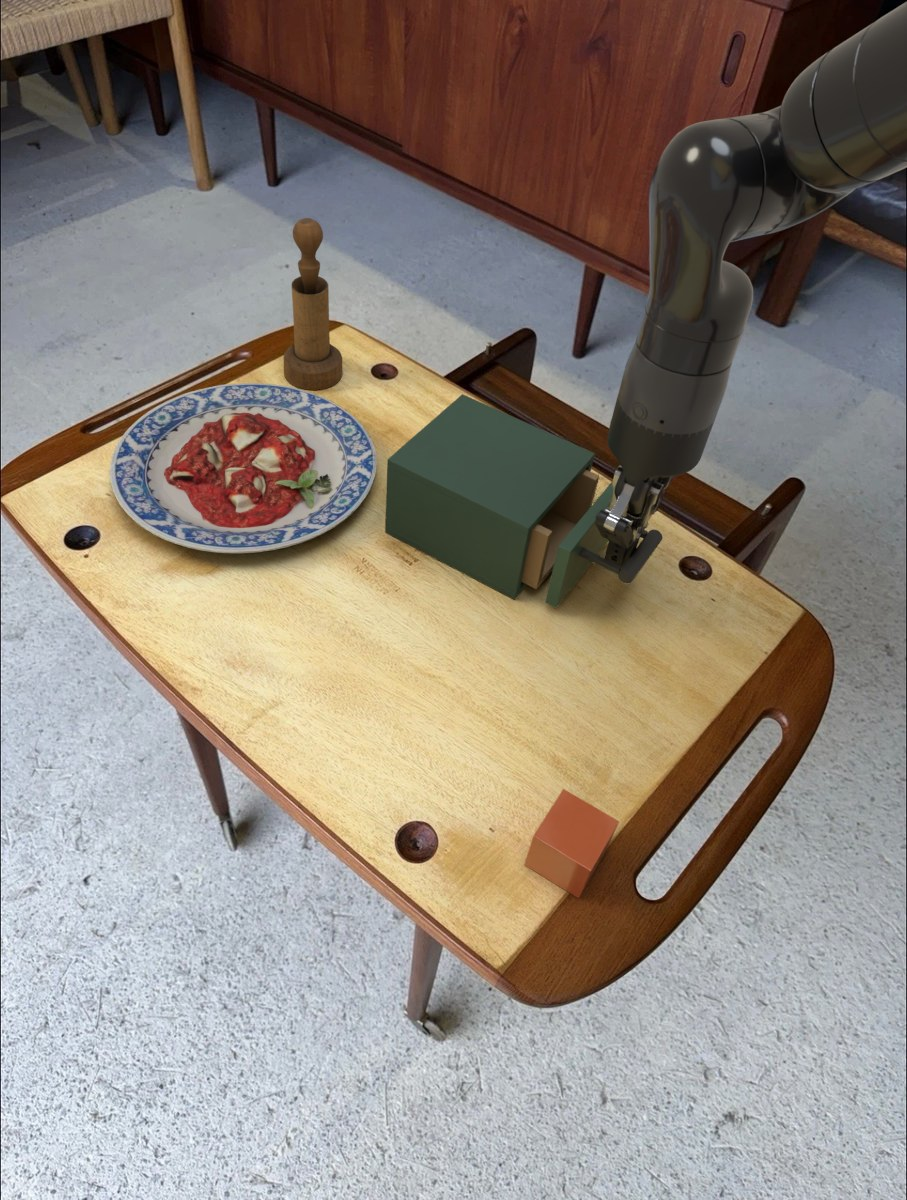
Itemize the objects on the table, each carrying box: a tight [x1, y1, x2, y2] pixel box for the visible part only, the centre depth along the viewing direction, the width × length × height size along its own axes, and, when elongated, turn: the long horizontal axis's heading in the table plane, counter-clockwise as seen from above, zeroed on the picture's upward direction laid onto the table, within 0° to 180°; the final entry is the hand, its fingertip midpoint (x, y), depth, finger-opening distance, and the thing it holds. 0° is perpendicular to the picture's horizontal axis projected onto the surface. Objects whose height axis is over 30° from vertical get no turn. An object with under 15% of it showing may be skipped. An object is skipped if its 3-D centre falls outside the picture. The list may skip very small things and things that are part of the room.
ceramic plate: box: [109, 382, 377, 554], centre depth 89 cm, size 26×26×3 cm
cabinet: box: [384, 393, 596, 601], centre depth 85 cm, size 15×13×9 cm
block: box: [524, 788, 620, 899], centre depth 64 cm, size 4×4×4 cm
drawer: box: [521, 470, 664, 609], centre depth 83 cm, size 19×11×7 cm, turn 57°
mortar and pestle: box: [283, 217, 343, 391], centre depth 96 cm, size 7×6×18 cm
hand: (618, 559), depth 81 cm, fingers closed
